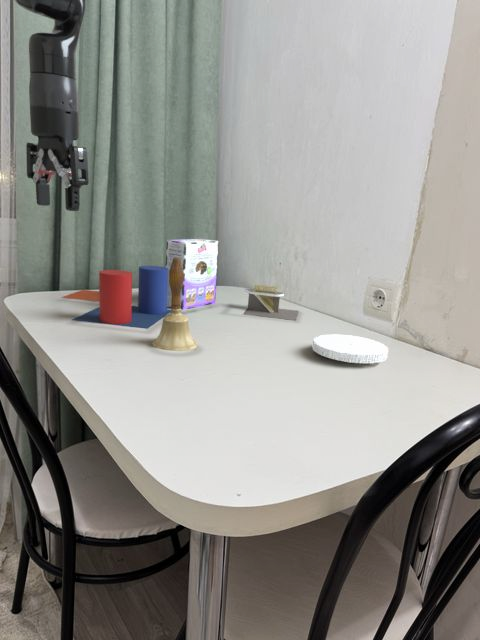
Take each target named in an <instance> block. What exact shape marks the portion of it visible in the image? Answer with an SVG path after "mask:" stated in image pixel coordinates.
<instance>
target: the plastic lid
mask: <svg viewBox="0 0 480 640" xmlns="http://www.w3.org/2000/svg"><path fill="white" fill-rule="evenodd" d="M311 350H312V351H313V352H315V353H316V354H318V355H320V356H323V357H325V358H328V359H331V360H335V361H339V362H340V361H341V362H345V363H352V364H377V363H382V362H384V361H386V360H387V359H388V356H389V355H388V353H389V348H388V346H387V345H385V344H384V343H382V342H379V341H377V340H375V339H371V338H366V337H363V336H358V335H351V334H339V333H334V334H333V333H331V334H330V333H329V334H327V333H326V334H321V335H316V336H315V337H314V338H313V340H312V349H311Z"/></svg>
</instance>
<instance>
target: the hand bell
mask: <svg viewBox="0 0 480 640" xmlns="http://www.w3.org/2000/svg"><path fill="white" fill-rule="evenodd" d="M183 282H184V271H183V267H182V264H181V259H180V258H173V261H172V265H171V267H170V271H169V284H170V288H171V292H172V300H171V304H172V305H171V308H170V310H171V313H169V314H168V315H166V316H165V317H164V318H162V324H161V325H162V326H161V329H160V331H159V334H158V335H157V337H156V338H155V339H153V341H152V343H151V344H152V346H153V347H155V348H157V349H160V350H163V351H164V350H165V351H171V352H174V351H175V352H185V351H191V350H193V351H195V350H197V349H198V347H199V345H198V343H197V341H196V340H195V339H194V338H193V336H192V335H191V331H190V326H189V325H190V324H189V318H188V317H187V316H186V315H184V314H183V313H182V310H181V309H180V308H181V306H180V304H181V303H180V294H181V290H182V287H183Z"/></svg>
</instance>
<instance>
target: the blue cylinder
mask: <svg viewBox="0 0 480 640" xmlns="http://www.w3.org/2000/svg"><path fill="white" fill-rule="evenodd" d="M167 285H168V268H166V266H165V267H164V266H159V265H140V266H138V290H137V291H138V293H137V294H138V295H137V298H138V299H137V302H138V303H137V306H138V311H139V312H141V313H145V314H164V313H166V312H167V310H168V309H167V308H168V307H167Z"/></svg>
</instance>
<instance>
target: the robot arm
mask: <svg viewBox="0 0 480 640" xmlns="http://www.w3.org/2000/svg"><path fill="white" fill-rule="evenodd" d="M14 2H15V3H16V4H17V5H18V6H20V7H21V8H23V9H24V10H26V11H28V12H31V13H33V14H36V15H39V16H42V17H45V18H48V19H50V20H53V21H54V24H53V28H52V30H51V32H35V33H32V34H31V35H30V37H29V38H28V61H29V83H28V94H29V95H28V96H29V97H28V98H29V99H28V100H29V117H30V121H29V122H30V133H31V134H32V136H33V137H37V143H36V142H26V147H25V148H26V150H25V151H26V152H25V153H26V177H27V178H28V179H31V180H32V181H33V184H34V183H35V199H36V204H37V205H38V206H42V207H43V206H46V207H47V206H48V207H49V206H50V204H51V194H50V193H51V192H50V184H49V183H50V180H51V179H52V177H53V175H55V174H56V173H57V175H58V176H59V177H61V178H62V180H63V183H64V185H65V187H64V192H65V193H64V199H65V200H64V201H65V210H66V211H68V212H78V211H79V210H80V205H81V203H80V201H81V200H80V199H81V198H80V189H81V188H82V187H83V186H89V184H90V183H89V182H90V181H89V163H88V149H87V147H85V146H80V145H79V146H78V145H75V144H74V141H77V140H79V139H80V127H79V126H80V124H79V123H80V121H79V118H80V117H79V93H78V86H77V64H76V63H77V55H76V54H77V50H78V49H77V48H78V45H79V40H80V35H81V30H82V26H83V23H84V20H85V19H84V18H85V15H86V9H87V0H14ZM34 170H35V171H34ZM80 171H81V172H80ZM79 173H80V175H81V176H79Z"/></svg>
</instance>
